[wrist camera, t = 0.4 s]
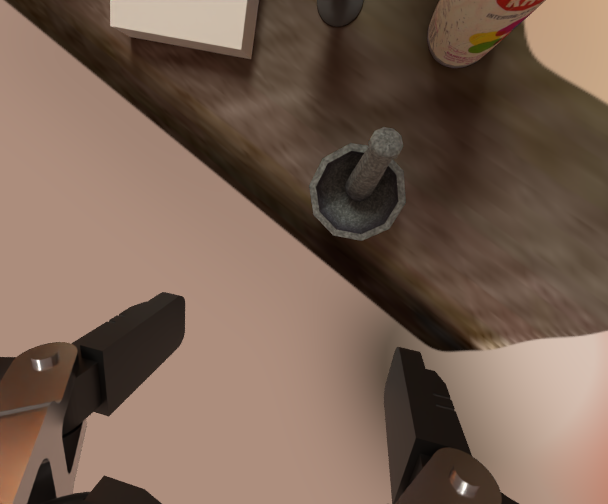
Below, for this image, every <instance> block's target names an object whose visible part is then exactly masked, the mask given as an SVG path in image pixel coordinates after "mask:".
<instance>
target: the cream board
mask: <svg viewBox="0 0 608 504" xmlns="http://www.w3.org/2000/svg"><path fill="white" fill-rule="evenodd" d="M258 4H259V0H110V26H111V27H113V28H115V29H117V30H119V31H120V32H122V33H124V34H126V35H128V36H129V37H134V38H139V39H144V40H150V41H155V42H160V43H166V44H171V45H177V46H182V47H187V48H193V49H198V50H204V51H209V52H214V53H220V54H225V55H231V56H236V57H241V58H247V59H251V58H252V50H253V42H254V35H255V27H256V19H257V12H258Z"/></svg>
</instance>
